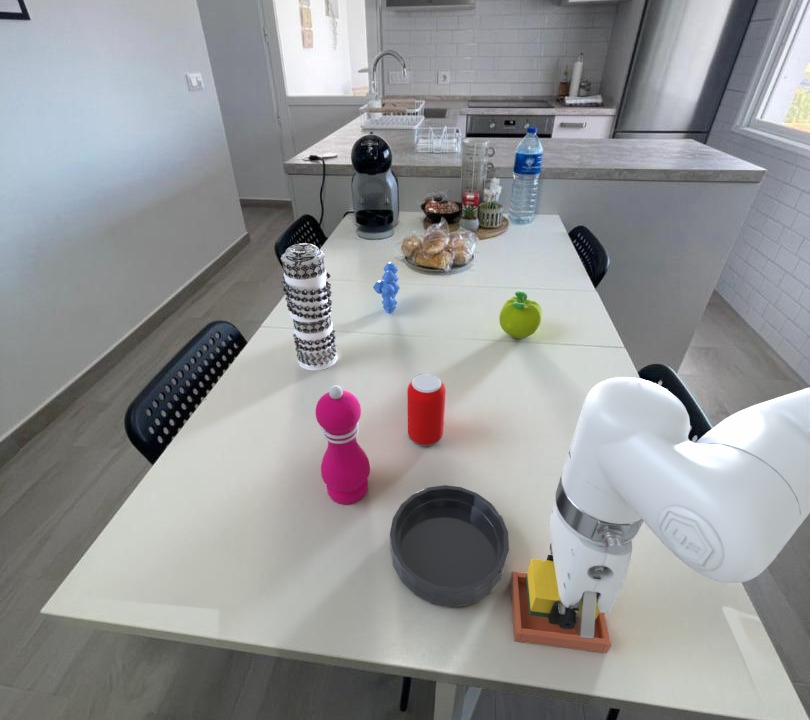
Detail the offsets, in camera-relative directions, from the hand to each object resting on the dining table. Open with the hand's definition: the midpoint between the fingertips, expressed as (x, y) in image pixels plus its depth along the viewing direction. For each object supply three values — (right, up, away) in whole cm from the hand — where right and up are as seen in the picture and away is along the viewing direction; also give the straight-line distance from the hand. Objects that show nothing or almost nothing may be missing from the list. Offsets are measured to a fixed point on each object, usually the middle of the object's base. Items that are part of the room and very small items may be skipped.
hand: (559, 597), depth 51 cm
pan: (-12, +2, +9) cm, 15 cm away
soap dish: (0, -3, +2) cm, 4 cm away
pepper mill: (-27, +8, +17) cm, 33 cm away
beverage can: (-14, +14, +26) cm, 33 cm away
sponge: (0, 0, 0) cm, 0 cm away
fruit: (+8, +33, +52) cm, 62 cm away
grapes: (-22, +41, +63) cm, 78 cm away
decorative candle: (-37, +28, +45) cm, 64 cm away
